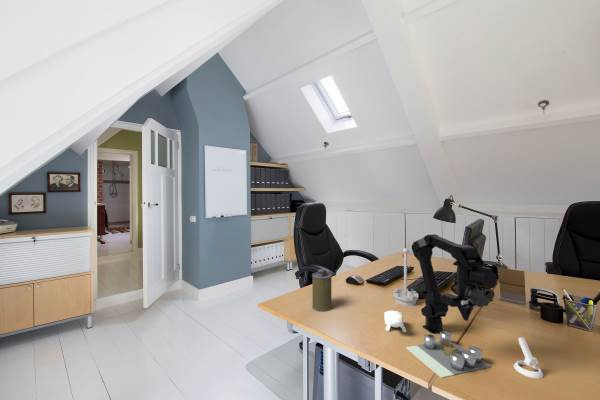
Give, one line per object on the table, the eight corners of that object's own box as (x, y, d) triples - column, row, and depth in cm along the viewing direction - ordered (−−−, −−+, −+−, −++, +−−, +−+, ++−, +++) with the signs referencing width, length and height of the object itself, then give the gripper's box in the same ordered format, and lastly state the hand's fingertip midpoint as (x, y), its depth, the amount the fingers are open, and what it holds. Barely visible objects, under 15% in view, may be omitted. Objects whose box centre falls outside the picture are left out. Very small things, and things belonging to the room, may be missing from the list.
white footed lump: (383, 329, 127) (388, 332, 113) (381, 309, 130) (387, 310, 116) (402, 330, 126) (410, 334, 112) (400, 310, 128) (408, 311, 115)
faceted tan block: (438, 351, 103) (438, 344, 103) (448, 348, 105) (448, 340, 105) (450, 359, 98) (450, 350, 98) (460, 354, 101) (460, 346, 101)
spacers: (420, 344, 108) (421, 334, 108) (448, 339, 111) (448, 329, 111) (457, 372, 91) (457, 360, 91) (488, 365, 95) (488, 353, 94)
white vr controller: (512, 340, 101) (531, 337, 96) (529, 379, 94) (550, 378, 89) (498, 340, 99) (517, 336, 94) (514, 379, 92) (536, 378, 87)
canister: (325, 313, 137) (325, 273, 137) (308, 308, 143) (308, 270, 143) (335, 306, 146) (335, 269, 145) (319, 301, 152) (319, 266, 151)
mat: (405, 347, 106) (405, 347, 106) (449, 339, 112) (449, 339, 112) (441, 378, 89) (441, 377, 89) (491, 366, 94) (491, 365, 94)
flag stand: (422, 306, 145) (422, 250, 144) (397, 306, 145) (397, 250, 144) (412, 297, 158) (412, 245, 157) (390, 297, 158) (390, 245, 157)
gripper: (464, 289, 93) (463, 334, 93) (505, 284, 98) (505, 326, 98) (439, 279, 104) (439, 319, 104) (478, 275, 109) (477, 313, 109)
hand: (465, 320), depth 104 cm, fingers closed
